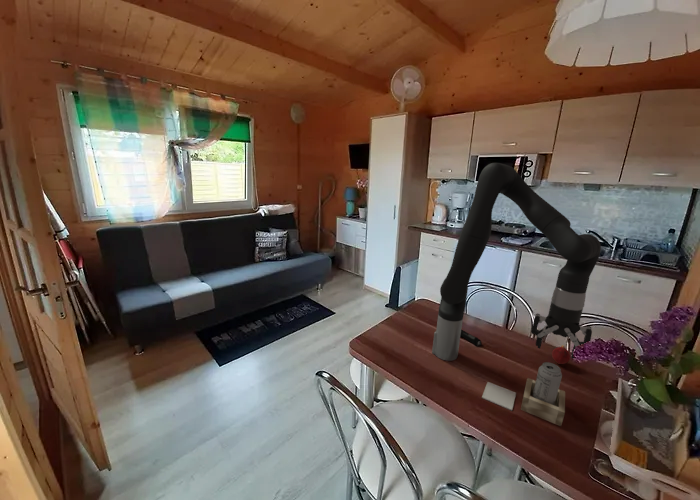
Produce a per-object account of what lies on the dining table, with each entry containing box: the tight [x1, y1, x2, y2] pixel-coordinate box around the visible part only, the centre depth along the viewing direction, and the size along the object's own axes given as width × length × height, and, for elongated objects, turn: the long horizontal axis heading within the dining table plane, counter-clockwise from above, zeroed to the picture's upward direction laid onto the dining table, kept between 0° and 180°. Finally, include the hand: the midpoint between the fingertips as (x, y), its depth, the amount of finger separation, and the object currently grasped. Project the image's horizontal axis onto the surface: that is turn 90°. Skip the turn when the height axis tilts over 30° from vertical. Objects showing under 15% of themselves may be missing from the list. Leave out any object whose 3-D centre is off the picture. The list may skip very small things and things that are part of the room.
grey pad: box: [481, 381, 517, 411], centre depth 101 cm, size 9×9×1 cm
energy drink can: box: [531, 361, 563, 406], centre depth 95 cm, size 6×6×15 cm
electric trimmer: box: [460, 329, 483, 348], centre depth 134 cm, size 4×16×3 cm, turn 32°
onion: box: [551, 344, 571, 365], centre depth 117 cm, size 6×6×8 cm
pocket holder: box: [520, 377, 566, 427], centre depth 96 cm, size 11×11×5 cm
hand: (555, 352), depth 91 cm, fingers open, 8 cm apart
